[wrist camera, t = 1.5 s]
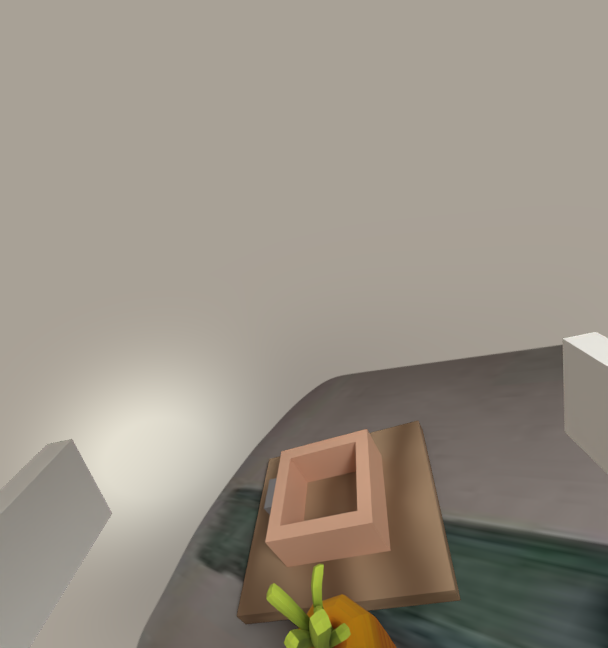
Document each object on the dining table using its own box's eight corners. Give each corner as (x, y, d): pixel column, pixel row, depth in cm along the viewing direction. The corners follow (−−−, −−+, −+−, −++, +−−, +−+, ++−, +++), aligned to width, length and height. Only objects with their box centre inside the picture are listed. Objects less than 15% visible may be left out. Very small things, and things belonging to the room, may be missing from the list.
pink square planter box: (381, 455, 39) (366, 428, 37) (390, 550, 31) (372, 522, 29) (292, 476, 42) (274, 453, 40) (279, 568, 34) (256, 543, 32)
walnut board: (422, 430, 41) (418, 420, 40) (460, 600, 27) (454, 589, 27) (275, 466, 46) (269, 459, 46) (245, 624, 33) (236, 616, 32)
